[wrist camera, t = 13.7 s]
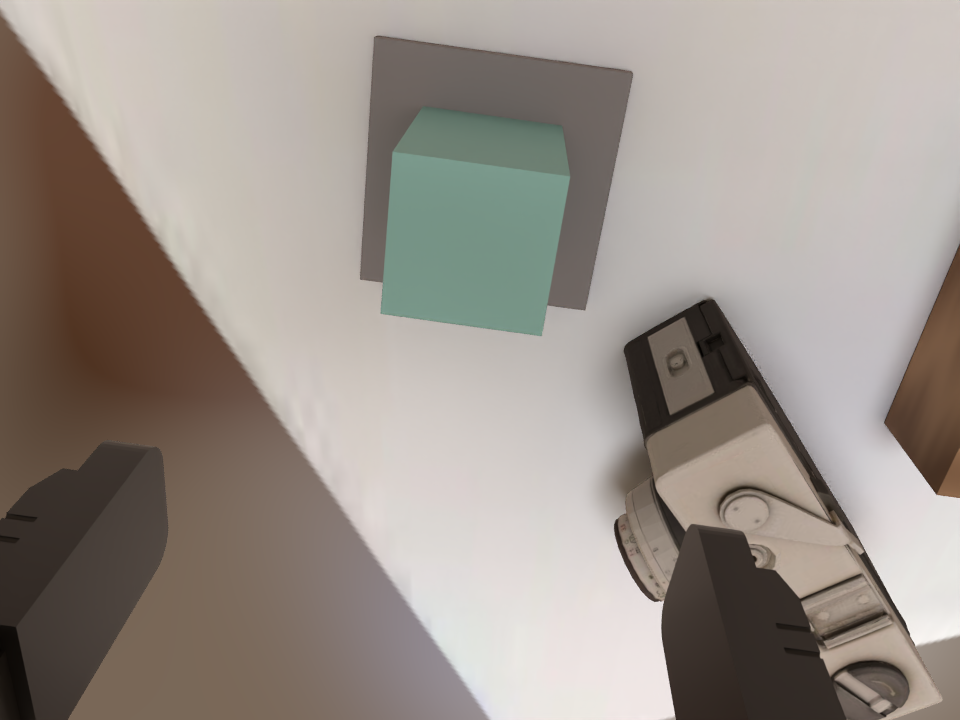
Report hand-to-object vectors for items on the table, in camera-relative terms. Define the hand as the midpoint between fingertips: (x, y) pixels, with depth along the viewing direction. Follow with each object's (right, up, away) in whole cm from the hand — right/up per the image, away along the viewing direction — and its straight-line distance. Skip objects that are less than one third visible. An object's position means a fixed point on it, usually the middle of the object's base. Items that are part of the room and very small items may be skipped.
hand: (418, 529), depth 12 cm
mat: (+1, +9, +18) cm, 20 cm away
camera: (+11, -2, +24) cm, 26 cm away
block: (+1, +9, +18) cm, 20 cm away
